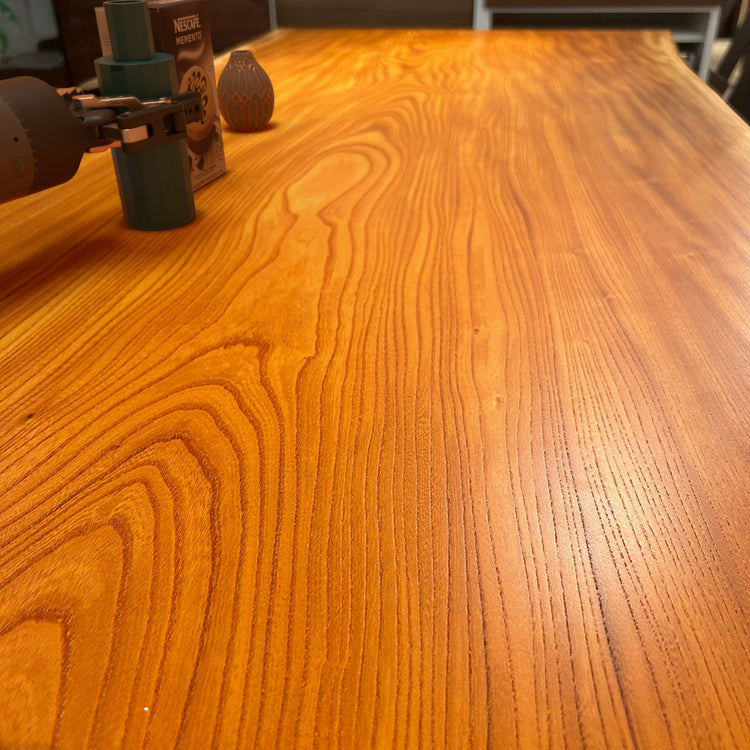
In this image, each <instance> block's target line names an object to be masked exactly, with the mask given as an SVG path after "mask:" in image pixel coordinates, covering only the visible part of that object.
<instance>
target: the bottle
mask: <svg viewBox="0 0 750 750" xmlns="http://www.w3.org/2000/svg"><path fill="white" fill-rule="evenodd" d="M102 7H104V11H105V17H106V23H107V28H108V34H109V39H110V45H111V50H112V55H110V56H104V57H103V56H101V57H98V58H95V59H94V61H93V63H94V64H93V65H94V69H95V74H96V80H97V86H99V90H100V96H101V97H106V96H117V95H127V94H132V95H135V96H136V97H137V99H138V100H149V99H159V98H160V97H169V96H173V95H177V94H179V88H178V81H177V74H176V67H175V60H174V55H171V54H168V53H157V52H155V48H154V42H153V35H152V28H151V22H150V15H149V9H148V2H147V1H146V0H106V1H103V2H102ZM117 108H118V109H119V111H120V115H121V114H124V113H125V112H129V109H128V107H127V106H125V105H121V106H117ZM110 153H111V159H112V164H113V169H114V173H115V174H114V175H115V179H116V184H117V190H118V195H119V199H120V205H121V210H122V215H123V218H124V223H125V225H126V226H127V227H130V228H132V229H135V230H140V231H161V230H162V231H163V230H170V229H173V228H179V227H182V226H185V225H187V224H190V223H191V222H193V221H195V219H196V217H197V210H196V201H195V194H194V191H193V187H192V180H191V173H190V166H189V159H188V152H187V145H186V138H183V139H182V140H177V141H174V142H170V143H167V144H164V145H161V146H157V147H154V148H151V149H147V150H144V151H141V152H138V153H135V154H133V155H128V154H124V153H122V148H121V147H113V148H110Z"/></svg>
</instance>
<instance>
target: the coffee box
mask: <svg viewBox="0 0 750 750" xmlns="http://www.w3.org/2000/svg"><path fill="white" fill-rule="evenodd" d="M146 1H147V2H148V9H149V15H150V22H151V28H152V35H153V42H154V48H155V52H157V53H168V54H171V55H174V60H175V67H176V74H177V81H178V88H179V94H180V93H184V92H188V91H197V92H199V93H200V94H201V98H202V106H203V118H202V119H201V120H200V121H196V122H193V123H190V124H187V125H186V126H187V133H188V137H187V138H186V145H187V152H188V159H189V166H190V173H191V180H192V187H193V192H195V191H197V190H198V189H200V188H202V187H203V186H205V185H207V184H208V183H210V182H212V181H213V180H215V179H216V178H218V177H220V176H221V175H223V174H225V173H226V172H227V163H226V156H225V155H226V154H225V146H224V138H223V128H222V119H221V113H220V110H219V103H218V95H217V79H216V72H215V71H216V70H215V69H216V68H215V61H214V54H213V53H214V52H213V44H212V34H211V27H210V18H209V10H208V0H146ZM94 12H95V19H96V24H97V30H98V35H99V42H100V48H101V53H102V57H104V56H110V55H112V50H111V45H110V39H109V34H108V28H107V23H106V17H105V11H104V6H97V7H94Z"/></svg>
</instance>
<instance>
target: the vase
mask: <svg viewBox="0 0 750 750" xmlns="http://www.w3.org/2000/svg"><path fill="white" fill-rule="evenodd" d="M216 86H217V95H218V103H219V111H220V116H221V117H222V119H223V121H224V122H225V123H226V124H227V125H228V126H229V127H230V128H231V129H232V130H235V131H240V132H250V131H258V130H262V129H264V128H265V127H267V125H268V123H269V122H270V121H271V119H272V118H273V115H274V111H275V104H276V103H275V100H276V99H275V90H274V86H273V83H272V80H271V78H270V76H269V74H268V72H266V70H265V69H264V68H263V67H262V65H261V64H260V63H259V62H258V60H257V59H256V57H255V56H254V54H253V51H252V50H250V49H235V50H232V51H230V54H229V58H228V60H227V62H226V64H225V66H224V67H223V69H222V71H221V72H220V74H219V77H218V80H217V83H216Z"/></svg>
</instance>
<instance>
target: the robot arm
mask: <svg viewBox="0 0 750 750" xmlns="http://www.w3.org/2000/svg"><path fill="white" fill-rule="evenodd" d="M121 105H125V106H127V107H128V109H129V112H125V113H124V114H121V115H120V111H119V109H118V108H117V106H121ZM202 118H203V106H202V98H201V94H200V93H199V92H197V91H188V92H184V93H180V94H177V95H173V96H169V97H160V98H159V99H149V100H138V99H137V97H136V96H135V95H132V94H127V95H117V96H106V97H101V96H100V90H99V85H95V86H91V87H87V88H81V87H80V88H79V87H77V86H72V87H67V88H65V87H64V88H63V87H62V88H60V87H56V86H51V85H50V84H48V83H47V82H45V81H44V80H42V79H39V78H37V77H34V76H30V75H23V76H16V77H11V78H7V79H6V78H5V79H1V80H0V206H2V205H5V204H9V203H12V202H14V201H17V200H20V199H22V198H26V197H29V196H31V195H35V194H37V193H41V192H43V191H46V190H49V189H52V188H55V187H58V186H61V185H63V184H66V183H68V182H70V181H71V180H72V179H73V178H74V177H75V176H76V174H77V172H78V171H79V170H80V167H81V162H82V160H83V157H84V155H85V154H90V155H91V154H99V153H105V152H107V151H108V150H109V149H111V148H113V147H121V148H122V153H124V154H128V155H133V154H135V153H138V152H141V151H144V150H147V149H151V148H154V147H157V146H161V145H164V144H167V143H170V142H174V141H177V140H182V139H183V138H187V137H188V133H187V126H186V125H187V124H190V123H193V122H196V121H200V120H201V119H202Z"/></svg>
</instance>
